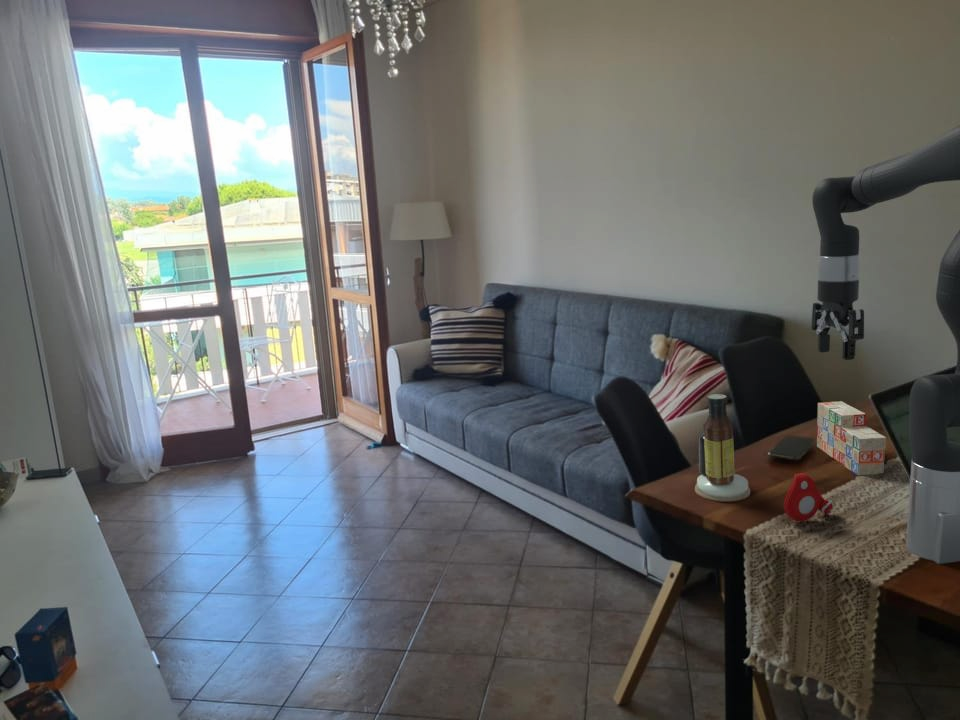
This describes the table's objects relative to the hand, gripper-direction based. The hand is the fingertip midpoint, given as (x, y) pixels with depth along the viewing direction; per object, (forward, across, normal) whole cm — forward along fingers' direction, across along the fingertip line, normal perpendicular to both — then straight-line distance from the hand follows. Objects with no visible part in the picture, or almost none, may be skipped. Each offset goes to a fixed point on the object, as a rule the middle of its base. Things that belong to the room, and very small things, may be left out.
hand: (835, 355), depth 148 cm
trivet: (+32, +10, +20) cm, 39 cm away
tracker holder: (+32, -8, +10) cm, 35 cm away
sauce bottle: (+29, +10, +21) cm, 37 cm away
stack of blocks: (+32, +20, -18) cm, 42 cm away
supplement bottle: (+30, +15, +20) cm, 39 cm away
